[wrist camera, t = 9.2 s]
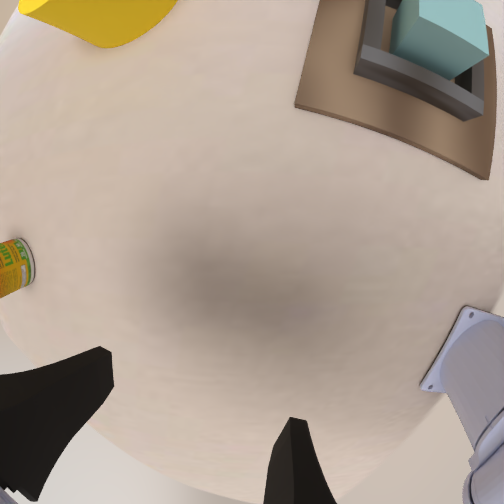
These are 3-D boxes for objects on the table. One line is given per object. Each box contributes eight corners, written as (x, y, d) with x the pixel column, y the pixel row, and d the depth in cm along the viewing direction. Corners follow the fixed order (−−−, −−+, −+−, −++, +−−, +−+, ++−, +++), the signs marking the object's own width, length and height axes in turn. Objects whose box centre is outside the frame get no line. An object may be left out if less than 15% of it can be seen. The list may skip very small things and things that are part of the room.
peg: (444, 41, 11) (482, 5, 5) (442, 85, 12) (489, 55, 6) (392, 18, 12) (417, -30, 6) (387, 61, 13) (419, 16, 7)
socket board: (486, 32, 10) (505, 18, 7) (481, 179, 14) (509, 181, 11) (329, -34, 12) (330, -60, 8) (295, 107, 15) (292, 89, 12)
